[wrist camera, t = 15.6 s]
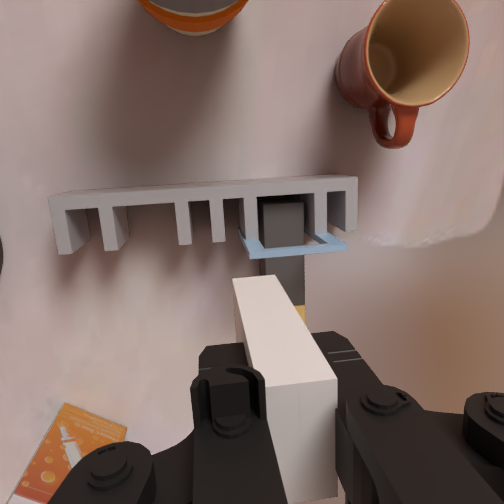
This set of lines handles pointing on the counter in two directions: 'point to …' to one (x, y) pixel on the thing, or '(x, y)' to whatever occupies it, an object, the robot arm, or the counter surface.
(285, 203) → the grey banded bar
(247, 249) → the blue bezel
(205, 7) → the reusable coffee cup
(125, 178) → the counter surface
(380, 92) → the mug
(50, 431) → the small box
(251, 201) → the grey slotted rack
